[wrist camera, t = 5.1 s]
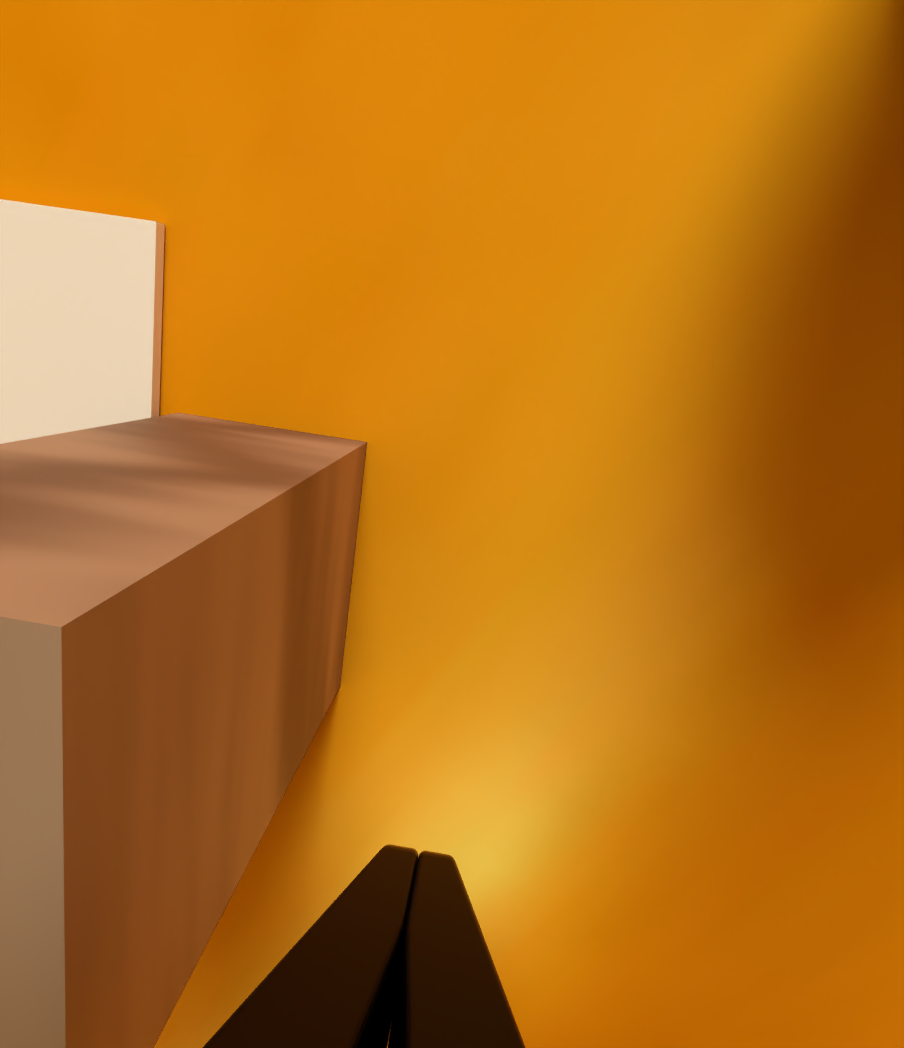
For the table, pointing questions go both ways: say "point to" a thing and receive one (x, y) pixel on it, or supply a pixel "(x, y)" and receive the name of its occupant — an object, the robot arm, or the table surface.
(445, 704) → the table surface
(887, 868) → the table surface
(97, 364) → the mat
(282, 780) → the walnut block
